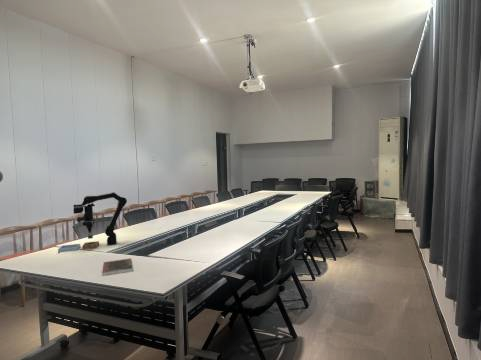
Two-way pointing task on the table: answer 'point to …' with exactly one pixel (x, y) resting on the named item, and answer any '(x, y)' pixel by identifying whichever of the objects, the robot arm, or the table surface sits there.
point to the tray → (69, 248)
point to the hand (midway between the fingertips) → (90, 232)
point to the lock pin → (90, 234)
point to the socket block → (91, 245)
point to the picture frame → (117, 267)
